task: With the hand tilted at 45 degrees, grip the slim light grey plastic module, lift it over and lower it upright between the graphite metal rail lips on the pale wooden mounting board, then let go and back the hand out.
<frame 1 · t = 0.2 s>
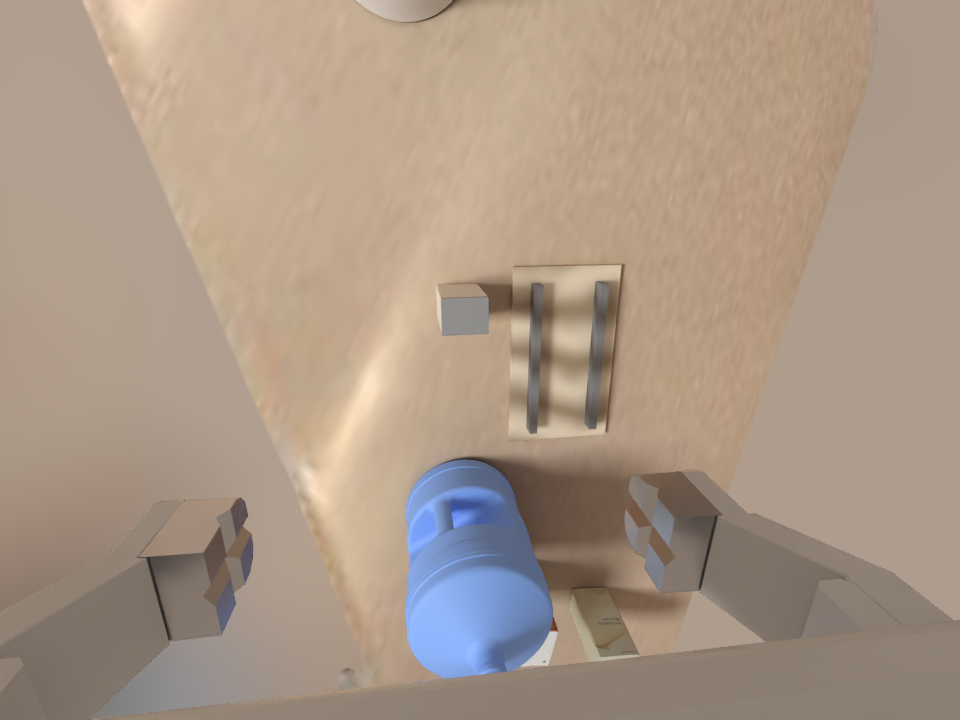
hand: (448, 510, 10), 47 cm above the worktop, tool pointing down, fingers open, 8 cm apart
skincare box: (586, 596, 76), on the worktop
rail board: (561, 355, 61), on the worktop
small box: (505, 573, 72), on the worktop
module: (456, 300, 56), on the worktop
water jug: (460, 502, 66), on the worktop
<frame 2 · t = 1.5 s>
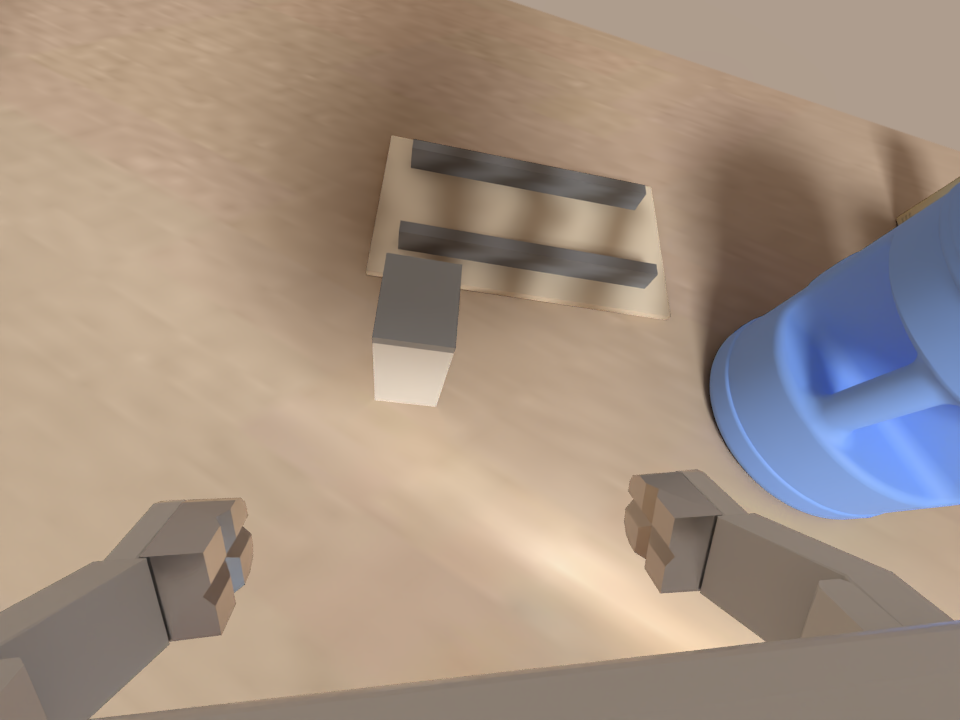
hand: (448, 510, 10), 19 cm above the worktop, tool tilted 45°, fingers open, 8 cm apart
skincare box: (917, 247, 48), on the worktop
rail board: (524, 228, 38), on the worktop
module: (410, 368, 31), on the worktop
water jug: (792, 416, 36), on the worktop
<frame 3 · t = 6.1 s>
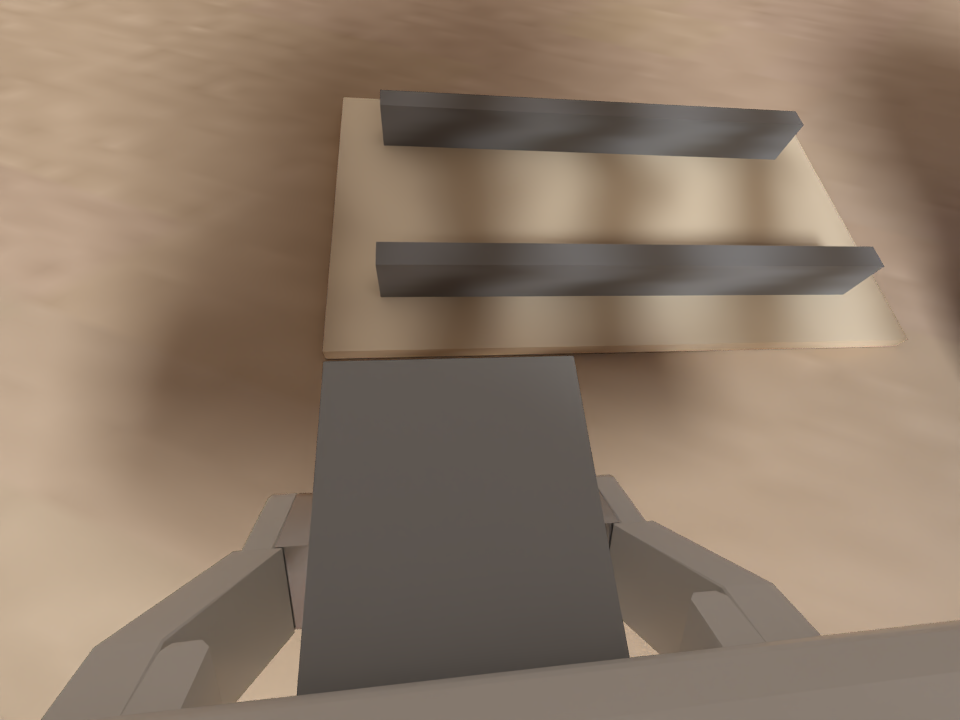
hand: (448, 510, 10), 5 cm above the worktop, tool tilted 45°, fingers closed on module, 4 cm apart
rail board: (600, 219, 21), on the worktop
module: (442, 556, 14), on the worktop, touching gripper
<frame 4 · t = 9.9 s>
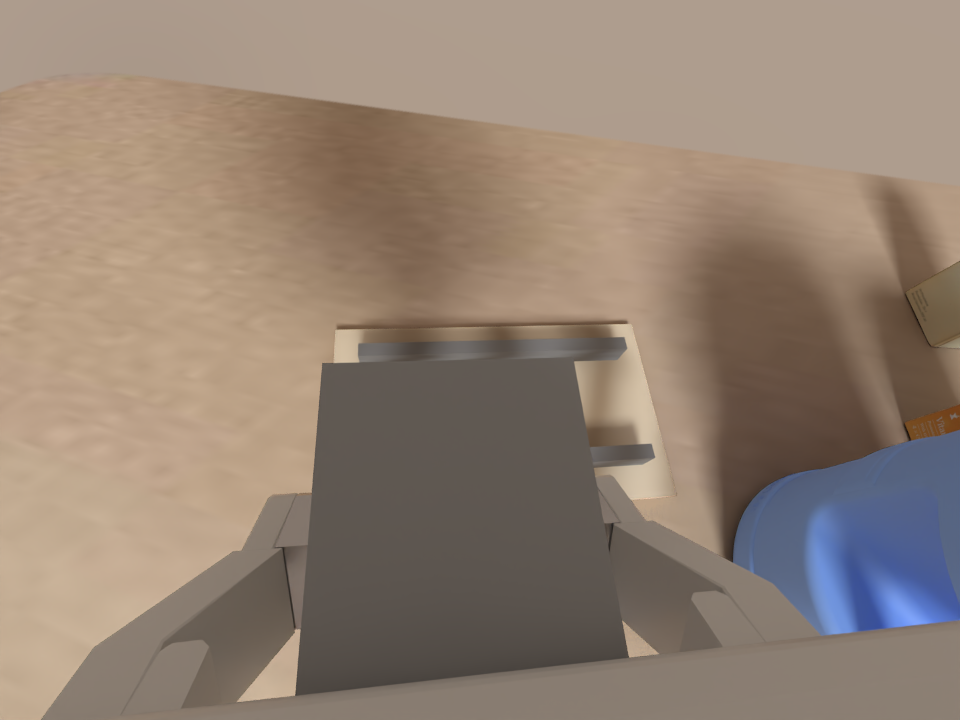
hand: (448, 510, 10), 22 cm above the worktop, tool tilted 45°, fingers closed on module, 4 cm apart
skincare box: (934, 322, 43), on the worktop
rail board: (498, 411, 34), on the worktop
small box: (951, 475, 36), on the worktop
module: (441, 557, 14), point 16 cm above the worktop, touching gripper
water jug: (833, 591, 31), on the worktop
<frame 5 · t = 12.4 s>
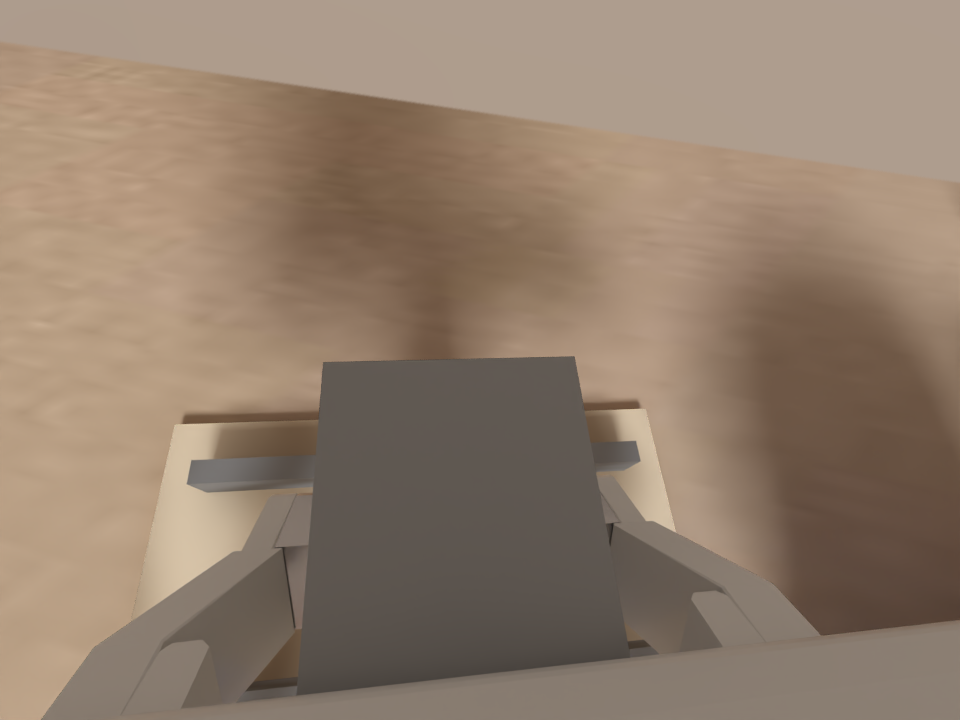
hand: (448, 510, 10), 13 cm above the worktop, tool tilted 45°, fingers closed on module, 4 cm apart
rail board: (430, 564, 21), on the worktop
module: (442, 557, 14), point 8 cm above the worktop, touching gripper
when the fingers open (8 cm above the worktop, at t = 14.2 s): module drops 2 cm, resting on rail board.
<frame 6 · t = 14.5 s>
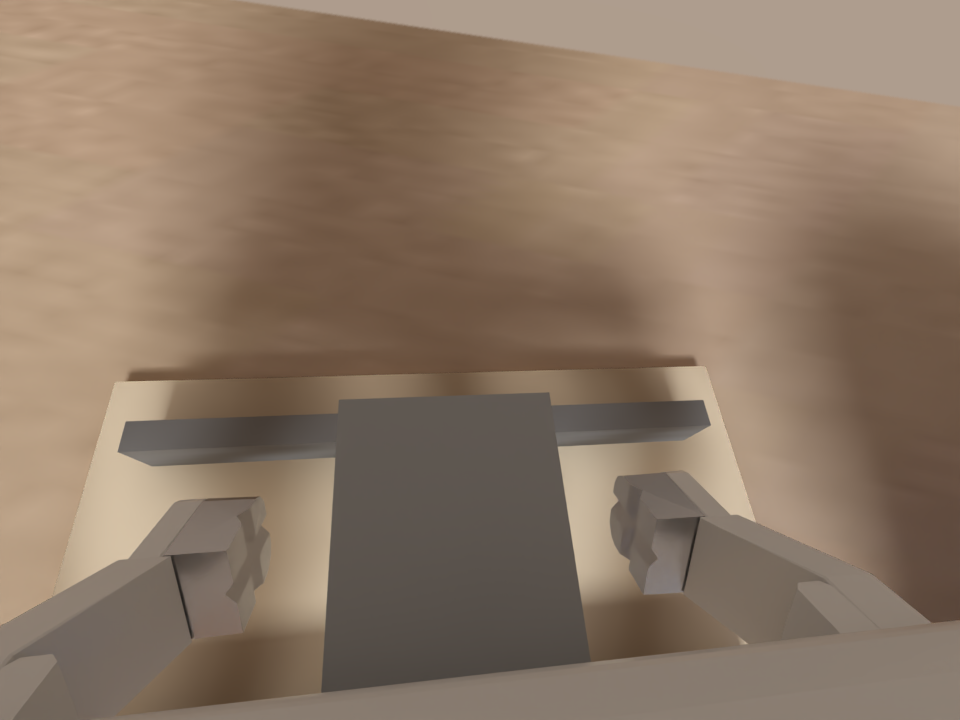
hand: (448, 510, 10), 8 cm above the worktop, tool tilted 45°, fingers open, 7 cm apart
rail board: (440, 559, 16), on the worktop
module: (440, 559, 16), point 1 cm above the worktop, touching rail board
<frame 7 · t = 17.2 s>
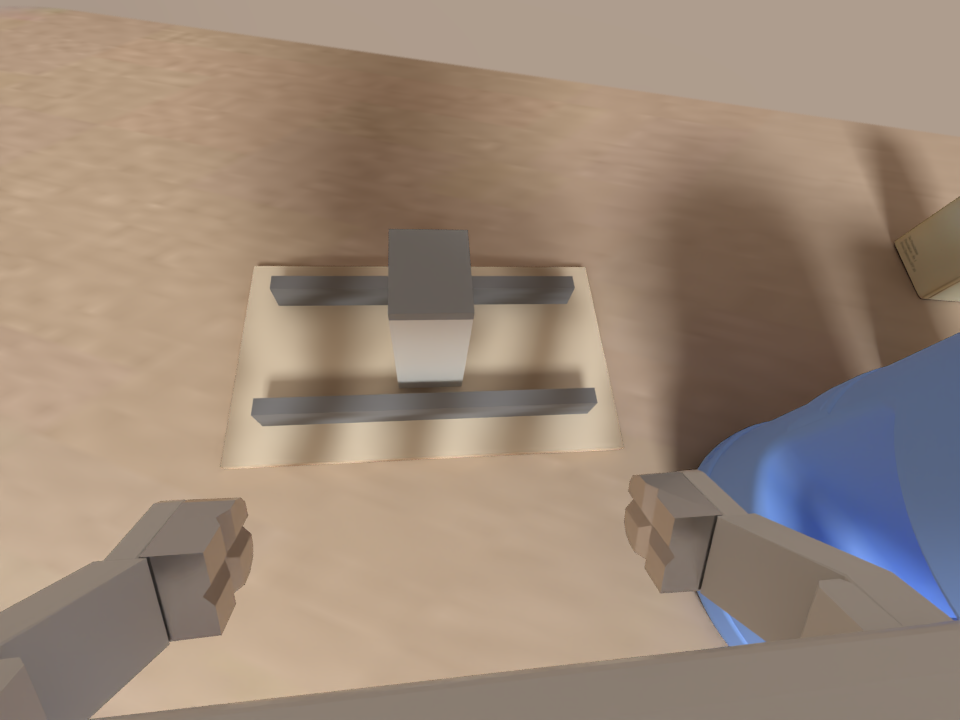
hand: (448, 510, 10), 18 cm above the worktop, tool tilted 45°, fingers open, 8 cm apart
skincare box: (926, 274, 39), on the worktop
rail board: (430, 356, 31), on the worktop
module: (429, 352, 30), point 1 cm above the worktop, touching rail board
water jug: (798, 555, 28), on the worktop
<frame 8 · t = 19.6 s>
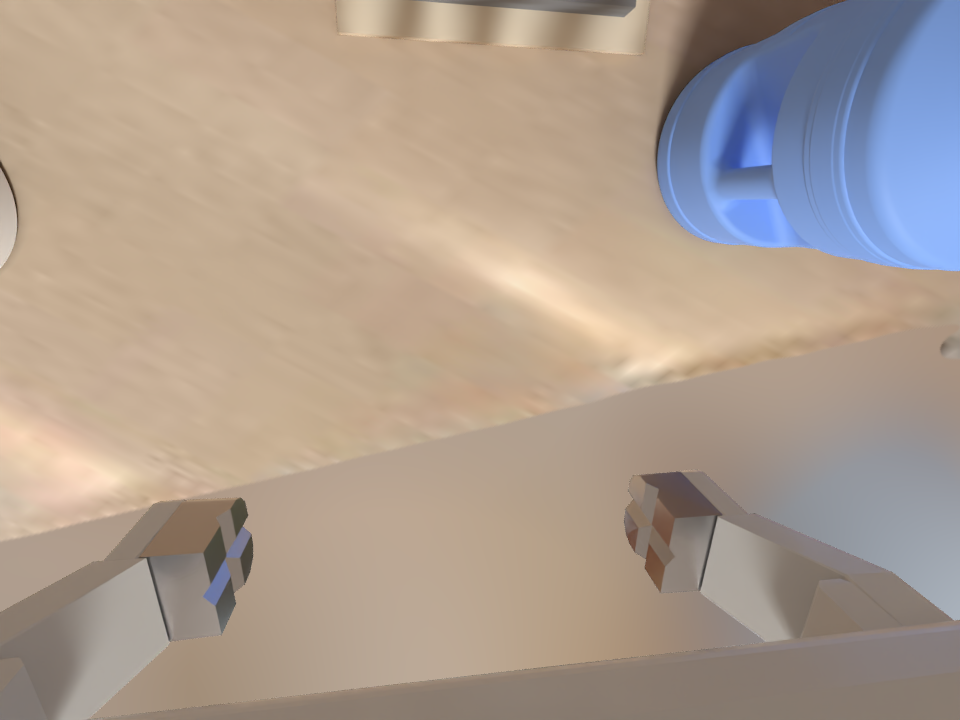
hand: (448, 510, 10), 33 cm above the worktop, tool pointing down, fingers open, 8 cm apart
water jug: (733, 153, 41), on the worktop
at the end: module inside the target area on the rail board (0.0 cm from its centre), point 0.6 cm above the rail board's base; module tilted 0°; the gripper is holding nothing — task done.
